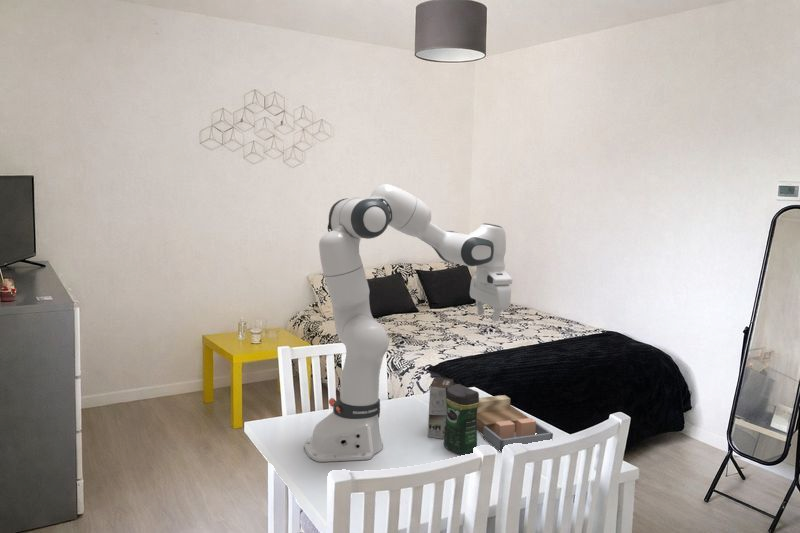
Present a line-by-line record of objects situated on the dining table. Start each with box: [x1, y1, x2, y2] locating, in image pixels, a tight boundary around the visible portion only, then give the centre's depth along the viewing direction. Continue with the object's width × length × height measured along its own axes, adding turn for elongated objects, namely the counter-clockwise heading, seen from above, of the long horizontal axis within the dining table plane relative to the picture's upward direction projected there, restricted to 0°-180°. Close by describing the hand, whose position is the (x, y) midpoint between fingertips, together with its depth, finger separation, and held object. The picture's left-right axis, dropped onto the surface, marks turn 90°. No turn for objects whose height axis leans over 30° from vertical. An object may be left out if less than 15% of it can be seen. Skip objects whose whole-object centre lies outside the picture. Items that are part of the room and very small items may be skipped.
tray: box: [482, 422, 554, 453], centre depth 191 cm, size 18×11×4 cm, turn 111°
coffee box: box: [427, 377, 454, 440], centre depth 194 cm, size 9×6×16 cm
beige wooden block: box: [477, 394, 511, 413], centre depth 205 cm, size 12×4×4 cm, turn 111°
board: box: [477, 404, 530, 436], centre depth 203 cm, size 16×15×4 cm
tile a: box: [495, 420, 515, 439], centre depth 191 cm, size 5×5×3 cm
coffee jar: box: [443, 383, 480, 455], centre depth 183 cm, size 10×8×19 cm
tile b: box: [516, 417, 537, 437], centre depth 193 cm, size 5×5×3 cm
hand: (487, 317), depth 202 cm, fingers open, 8 cm apart
